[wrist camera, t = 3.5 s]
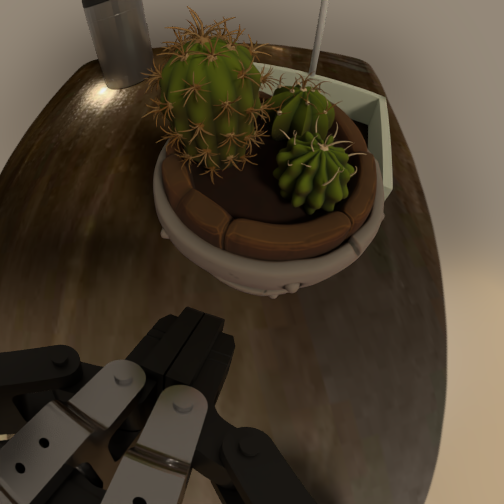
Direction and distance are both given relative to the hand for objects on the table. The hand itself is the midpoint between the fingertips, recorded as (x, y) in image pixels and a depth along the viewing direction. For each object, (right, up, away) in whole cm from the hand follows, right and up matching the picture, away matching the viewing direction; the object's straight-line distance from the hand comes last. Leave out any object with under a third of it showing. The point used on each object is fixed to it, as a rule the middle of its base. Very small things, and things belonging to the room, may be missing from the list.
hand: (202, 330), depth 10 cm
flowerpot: (+3, +4, +15) cm, 16 cm away
